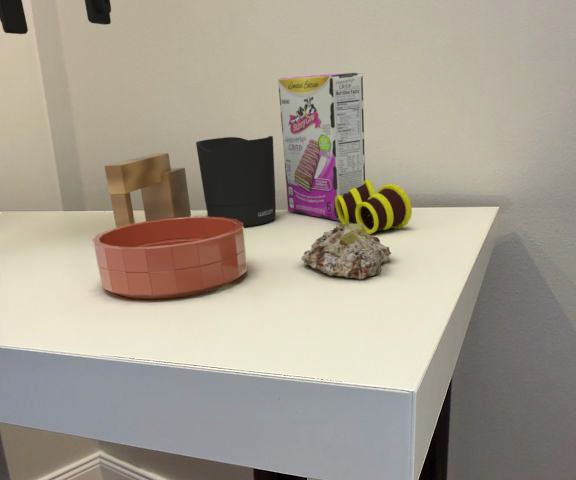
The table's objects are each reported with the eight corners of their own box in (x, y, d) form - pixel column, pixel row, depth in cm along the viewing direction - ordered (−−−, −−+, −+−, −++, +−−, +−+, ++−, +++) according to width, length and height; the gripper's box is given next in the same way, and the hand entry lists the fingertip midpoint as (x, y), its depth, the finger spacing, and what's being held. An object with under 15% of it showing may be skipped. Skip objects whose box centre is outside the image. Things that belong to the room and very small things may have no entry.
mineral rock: (290, 233, 64) (368, 203, 63) (305, 274, 66) (380, 245, 65) (305, 263, 54) (396, 228, 54) (321, 309, 56) (410, 276, 56)
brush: (142, 248, 74) (128, 164, 70) (111, 248, 75) (95, 166, 71) (192, 223, 86) (182, 150, 82) (164, 223, 87) (153, 152, 83)
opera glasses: (336, 230, 79) (326, 189, 77) (373, 215, 80) (366, 175, 78) (374, 244, 71) (365, 199, 69) (416, 228, 72) (408, 183, 70)
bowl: (73, 301, 56) (62, 249, 54) (144, 262, 68) (137, 217, 66) (216, 303, 52) (209, 247, 51) (266, 261, 64) (262, 215, 62)
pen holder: (211, 232, 79) (200, 145, 75) (202, 219, 88) (192, 140, 83) (286, 223, 81) (280, 137, 77) (270, 211, 89) (264, 133, 85)
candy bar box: (285, 212, 88) (275, 78, 81) (315, 206, 90) (308, 75, 84) (336, 222, 79) (330, 72, 73) (368, 215, 82) (365, 70, 75)
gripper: (-95, -185, 57) (-41, 35, 64) (77, -226, 53) (115, 17, 60) (-35, -159, 64) (8, 38, 71) (123, -194, 59) (152, 22, 66)
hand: (57, 28), depth 65 cm, fingers open, 9 cm apart
